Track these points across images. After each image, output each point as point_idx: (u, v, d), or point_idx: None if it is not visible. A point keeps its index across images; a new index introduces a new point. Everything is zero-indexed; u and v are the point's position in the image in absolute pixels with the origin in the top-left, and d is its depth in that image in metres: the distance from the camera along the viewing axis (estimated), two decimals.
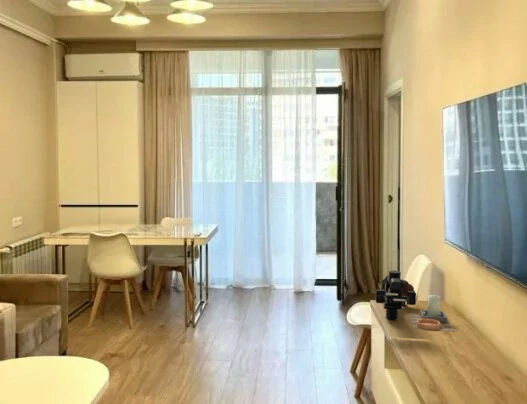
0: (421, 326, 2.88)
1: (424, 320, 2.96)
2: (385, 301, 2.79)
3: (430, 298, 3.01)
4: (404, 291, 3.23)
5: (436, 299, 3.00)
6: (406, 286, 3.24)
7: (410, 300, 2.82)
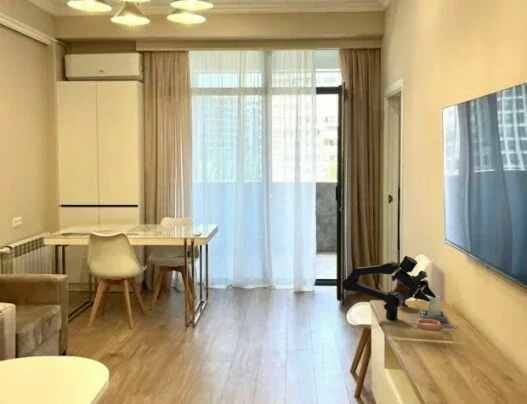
0: (421, 326, 2.88)
1: (424, 320, 2.96)
2: (426, 299, 2.88)
3: (430, 298, 3.01)
4: (403, 291, 3.23)
5: (436, 299, 3.00)
6: None
7: None
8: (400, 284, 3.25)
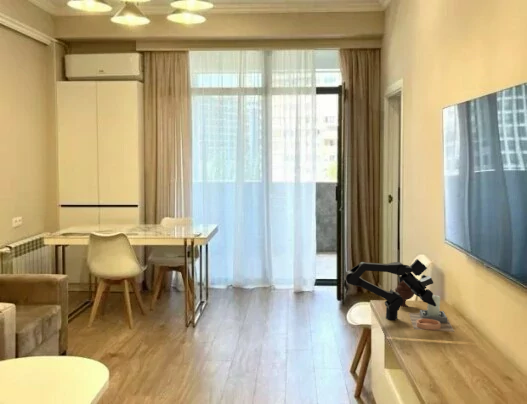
0: (421, 326, 2.88)
1: (424, 320, 2.96)
2: (433, 304, 2.98)
3: None
4: (405, 290, 3.25)
5: (436, 299, 3.00)
6: (407, 285, 3.25)
7: None
8: (403, 283, 3.26)
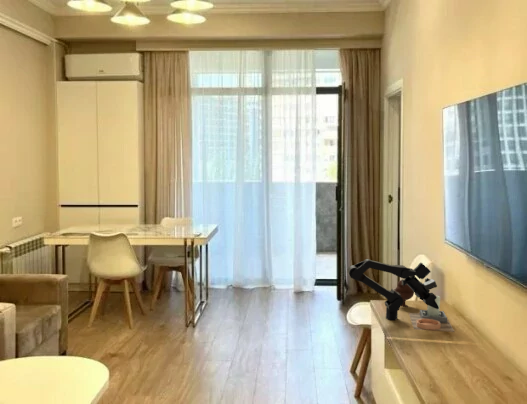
0: (421, 326, 2.88)
1: (424, 320, 2.96)
2: (435, 307, 3.00)
3: None
4: (404, 291, 3.24)
5: (436, 299, 3.00)
6: (406, 286, 3.24)
7: None
8: None
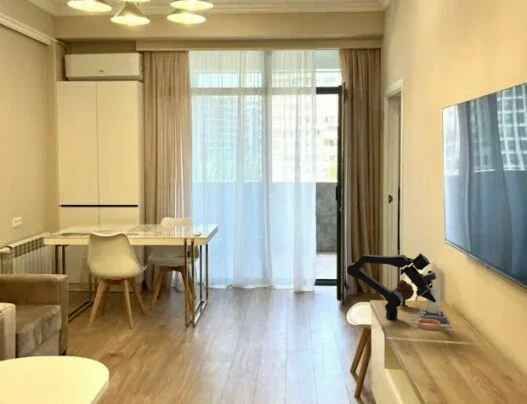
0: (421, 326, 2.88)
1: (424, 320, 2.96)
2: (432, 300, 2.91)
3: None
4: (404, 290, 3.24)
5: (434, 292, 2.91)
6: (406, 285, 3.25)
7: None
8: (401, 283, 3.26)
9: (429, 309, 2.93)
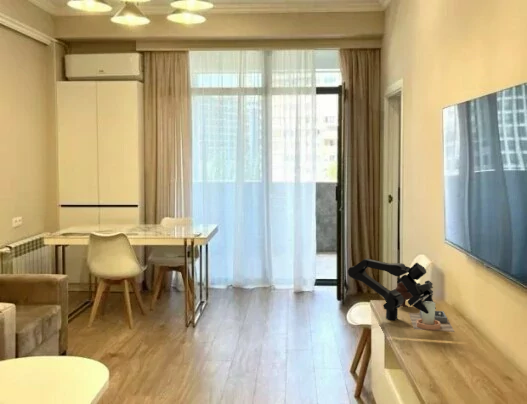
0: (421, 326, 2.88)
1: None
2: (424, 311, 2.86)
3: None
4: (404, 290, 3.24)
5: (427, 305, 2.88)
6: None
7: None
8: (402, 284, 3.25)
9: (423, 322, 2.90)
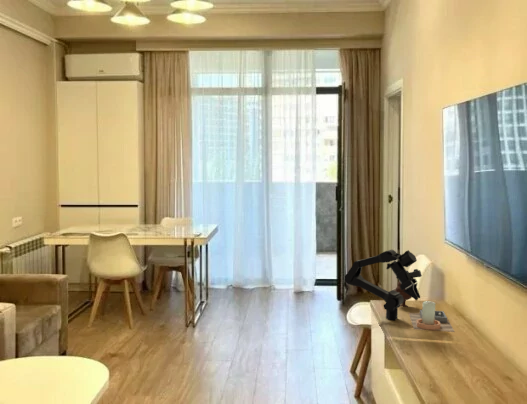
0: (421, 326, 2.88)
1: None
2: (414, 297, 2.90)
3: None
4: None
5: (427, 305, 2.88)
6: None
7: None
8: None
9: (423, 322, 2.90)
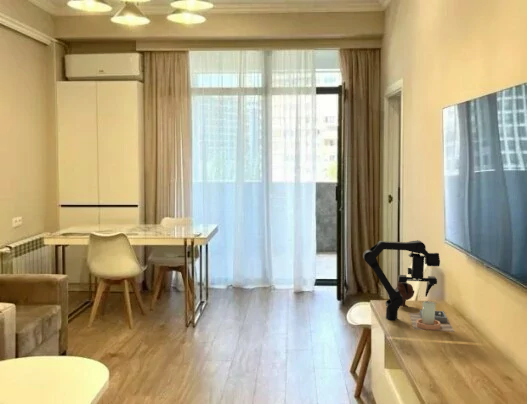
0: (421, 326, 2.88)
1: None
2: None
3: None
4: (405, 291, 3.24)
5: (427, 305, 2.88)
6: None
7: None
8: (402, 284, 3.25)
9: (423, 322, 2.90)
